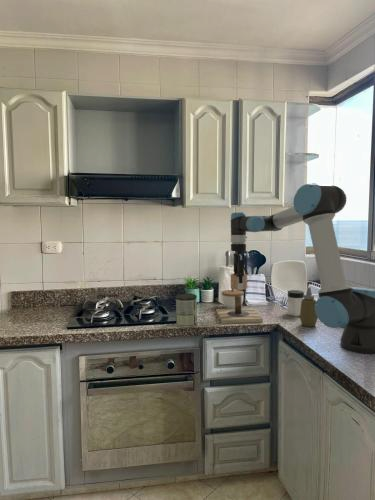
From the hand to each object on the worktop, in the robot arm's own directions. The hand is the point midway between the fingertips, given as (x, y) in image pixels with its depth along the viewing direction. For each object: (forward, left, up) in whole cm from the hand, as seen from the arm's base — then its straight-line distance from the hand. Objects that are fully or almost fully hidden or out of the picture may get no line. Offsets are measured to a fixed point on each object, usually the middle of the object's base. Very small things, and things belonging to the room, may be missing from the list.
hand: (238, 287), depth 183 cm
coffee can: (-9, +27, -16) cm, 33 cm away
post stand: (0, 0, -15) cm, 15 cm away
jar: (+3, -31, -16) cm, 35 cm away
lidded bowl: (+21, -1, -16) cm, 26 cm away
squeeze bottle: (-17, -30, -16) cm, 38 cm away
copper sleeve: (0, 0, 0) cm, 0 cm away
